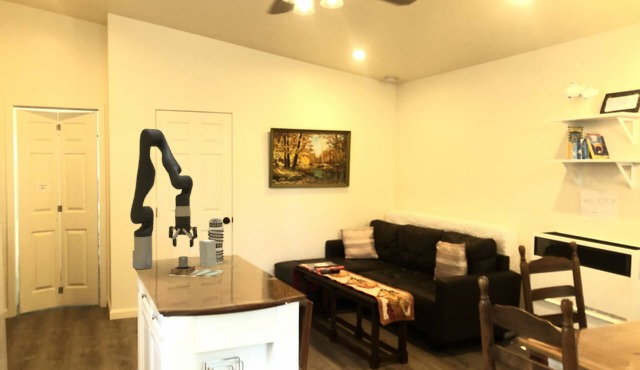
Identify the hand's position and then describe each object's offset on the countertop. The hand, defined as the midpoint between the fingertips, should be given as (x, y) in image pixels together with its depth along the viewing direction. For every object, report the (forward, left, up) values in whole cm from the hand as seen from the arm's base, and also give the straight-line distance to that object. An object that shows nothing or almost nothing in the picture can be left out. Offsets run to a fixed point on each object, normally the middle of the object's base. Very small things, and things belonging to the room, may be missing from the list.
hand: (183, 246), depth 242 cm
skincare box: (+6, +19, -15) cm, 24 cm away
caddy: (+6, 0, -14) cm, 16 cm away
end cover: (0, 0, -13) cm, 13 cm away
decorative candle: (+6, +32, -15) cm, 35 cm away
